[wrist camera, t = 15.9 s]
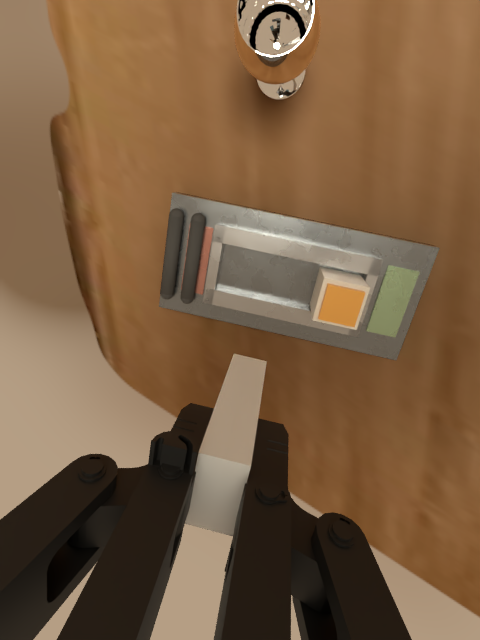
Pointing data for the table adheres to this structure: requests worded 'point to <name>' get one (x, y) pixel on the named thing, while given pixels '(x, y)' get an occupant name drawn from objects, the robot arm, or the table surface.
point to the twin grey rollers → (173, 254)
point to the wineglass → (277, 42)
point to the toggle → (338, 298)
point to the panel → (298, 274)
